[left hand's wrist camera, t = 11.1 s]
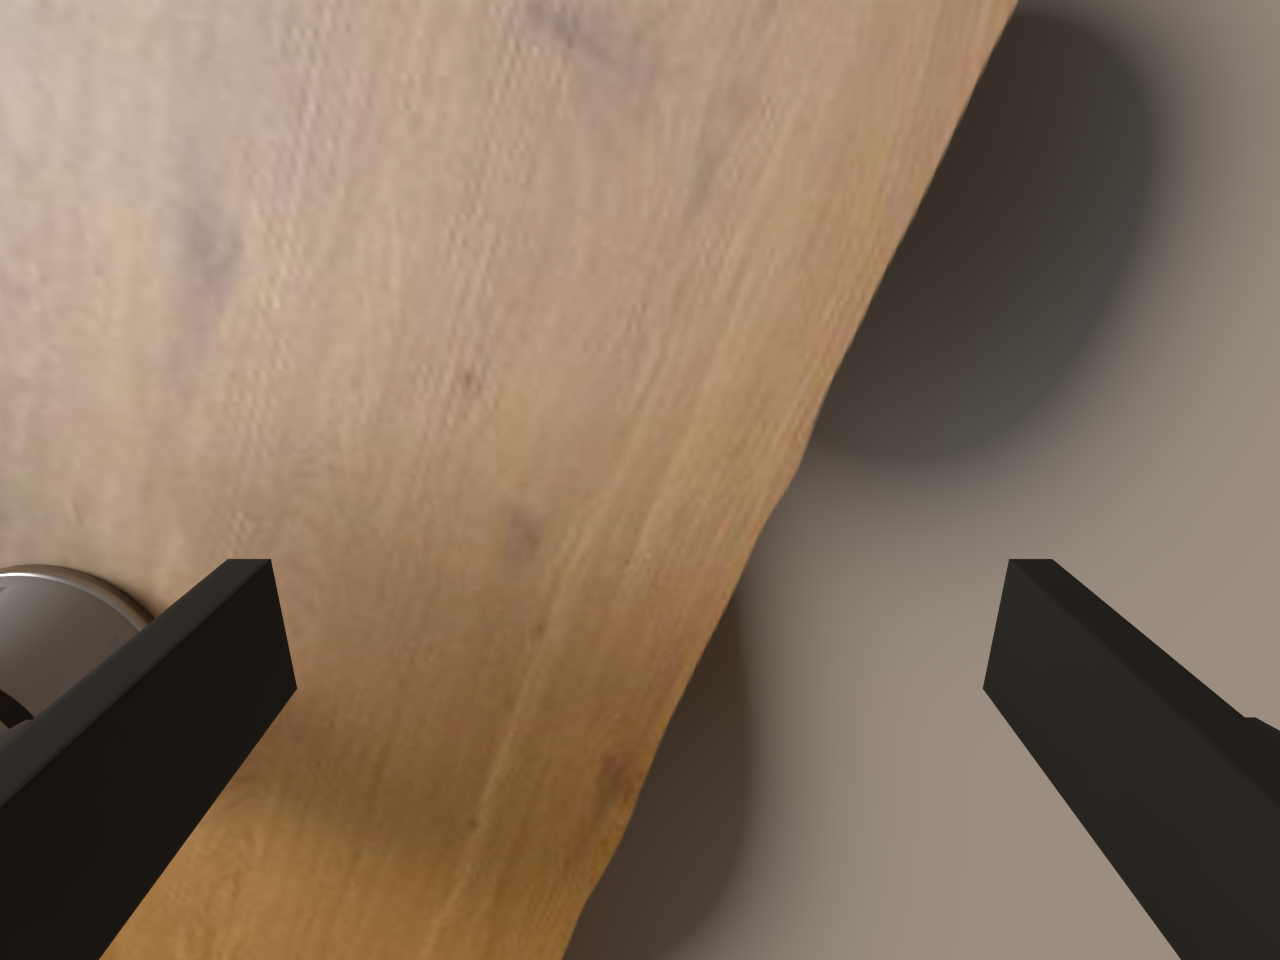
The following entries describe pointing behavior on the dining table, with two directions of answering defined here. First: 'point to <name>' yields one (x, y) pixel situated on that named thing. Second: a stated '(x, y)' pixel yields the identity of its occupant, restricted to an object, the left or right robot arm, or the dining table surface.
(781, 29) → the dining table surface
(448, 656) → the dining table surface
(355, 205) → the dining table surface
